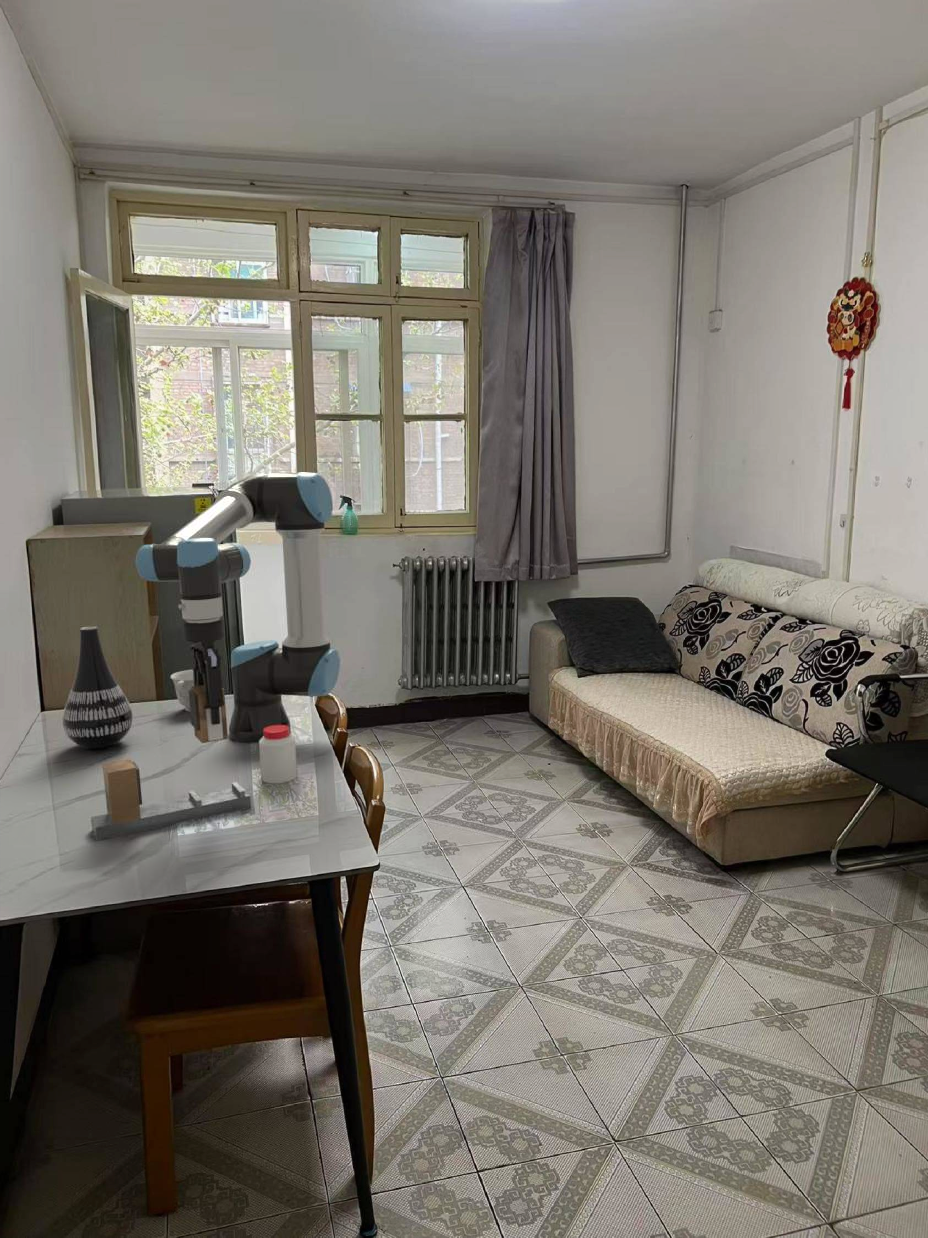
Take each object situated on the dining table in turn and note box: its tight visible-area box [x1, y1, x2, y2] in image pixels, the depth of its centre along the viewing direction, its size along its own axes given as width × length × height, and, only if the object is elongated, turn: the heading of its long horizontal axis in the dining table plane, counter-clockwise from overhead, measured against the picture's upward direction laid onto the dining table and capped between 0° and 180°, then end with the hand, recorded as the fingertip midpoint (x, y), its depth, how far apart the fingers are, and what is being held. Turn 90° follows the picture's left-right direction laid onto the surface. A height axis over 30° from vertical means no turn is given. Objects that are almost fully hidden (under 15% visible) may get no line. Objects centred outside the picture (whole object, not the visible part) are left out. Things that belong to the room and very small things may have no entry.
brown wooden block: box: [189, 685, 229, 744], centre depth 180 cm, size 6×6×10 cm
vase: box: [62, 626, 134, 751], centre depth 223 cm, size 16×16×30 cm
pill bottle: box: [258, 725, 298, 784], centre depth 200 cm, size 8×8×11 cm
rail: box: [90, 758, 252, 842], centre depth 178 cm, size 29×6×12 cm, turn 120°
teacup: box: [170, 669, 194, 712], centre depth 254 cm, size 12×15×10 cm
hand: (211, 735), depth 181 cm, fingers closed on brown wooden block, 6 cm apart
